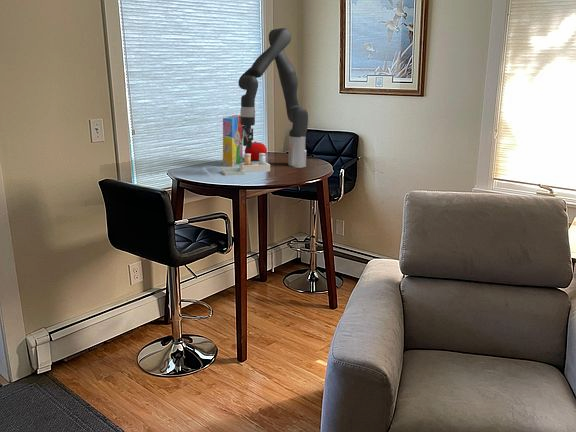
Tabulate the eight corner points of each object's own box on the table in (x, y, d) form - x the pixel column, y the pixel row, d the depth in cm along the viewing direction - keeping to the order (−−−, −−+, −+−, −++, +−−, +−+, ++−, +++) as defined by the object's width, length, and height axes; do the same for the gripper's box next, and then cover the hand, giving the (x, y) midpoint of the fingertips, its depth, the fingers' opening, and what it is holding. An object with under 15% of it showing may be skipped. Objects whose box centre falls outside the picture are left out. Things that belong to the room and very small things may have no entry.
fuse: (264, 169, 291) (264, 152, 289) (265, 170, 288) (266, 154, 286) (258, 169, 290) (258, 153, 288) (259, 171, 287) (260, 154, 284)
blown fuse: (249, 170, 289) (249, 153, 286) (251, 171, 286) (251, 154, 283) (243, 170, 288) (243, 153, 285) (245, 171, 284) (245, 154, 282)
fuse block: (266, 170, 294) (266, 162, 292) (270, 173, 287) (270, 164, 286) (239, 171, 289) (239, 163, 288) (242, 174, 283) (242, 165, 281)
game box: (232, 168, 297) (232, 118, 289) (222, 168, 298) (222, 118, 290) (242, 162, 316) (242, 115, 309) (233, 161, 317) (233, 114, 310)
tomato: (242, 158, 327) (242, 140, 323) (262, 157, 332) (262, 139, 329) (249, 162, 316) (249, 143, 313) (269, 161, 322) (270, 142, 319)
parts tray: (239, 172, 286) (239, 168, 286) (244, 176, 277) (244, 171, 277) (221, 173, 283) (221, 168, 283) (225, 177, 274) (225, 172, 274)
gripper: (258, 117, 273) (257, 149, 278) (251, 114, 286) (250, 144, 291) (243, 117, 271) (243, 149, 275) (237, 114, 284) (237, 145, 288)
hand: (247, 147), depth 283 cm, fingers open, 8 cm apart
